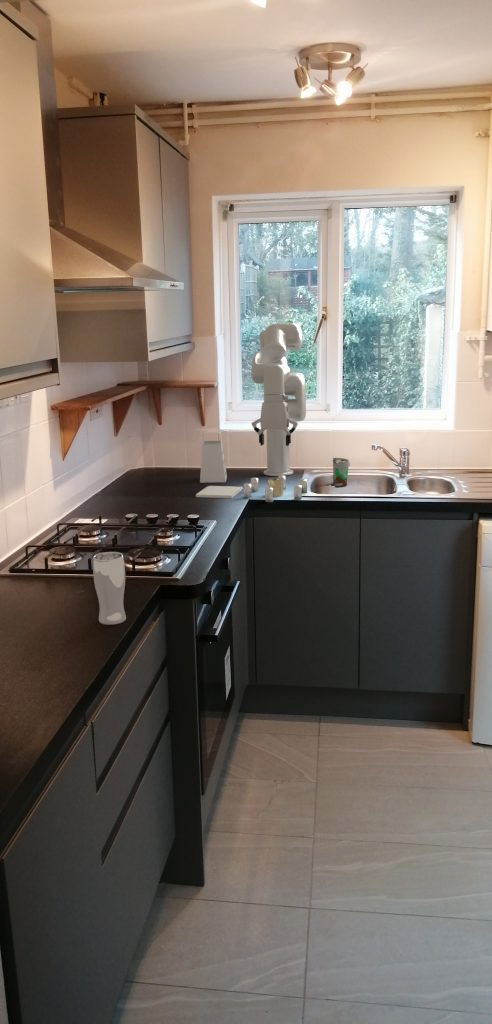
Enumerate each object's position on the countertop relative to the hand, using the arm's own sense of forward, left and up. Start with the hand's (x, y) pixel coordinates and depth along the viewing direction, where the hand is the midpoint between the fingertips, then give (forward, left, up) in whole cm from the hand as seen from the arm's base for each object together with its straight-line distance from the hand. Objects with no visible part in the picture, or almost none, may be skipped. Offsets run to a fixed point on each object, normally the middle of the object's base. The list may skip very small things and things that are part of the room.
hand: (274, 445), depth 301 cm
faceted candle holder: (0, 0, -19) cm, 19 cm away
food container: (-21, +22, -19) cm, 36 cm away
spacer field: (0, 0, -19) cm, 19 cm away
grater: (-25, -32, -19) cm, 45 cm away
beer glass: (+133, -8, -19) cm, 134 cm away
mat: (0, -22, -19) cm, 29 cm away
